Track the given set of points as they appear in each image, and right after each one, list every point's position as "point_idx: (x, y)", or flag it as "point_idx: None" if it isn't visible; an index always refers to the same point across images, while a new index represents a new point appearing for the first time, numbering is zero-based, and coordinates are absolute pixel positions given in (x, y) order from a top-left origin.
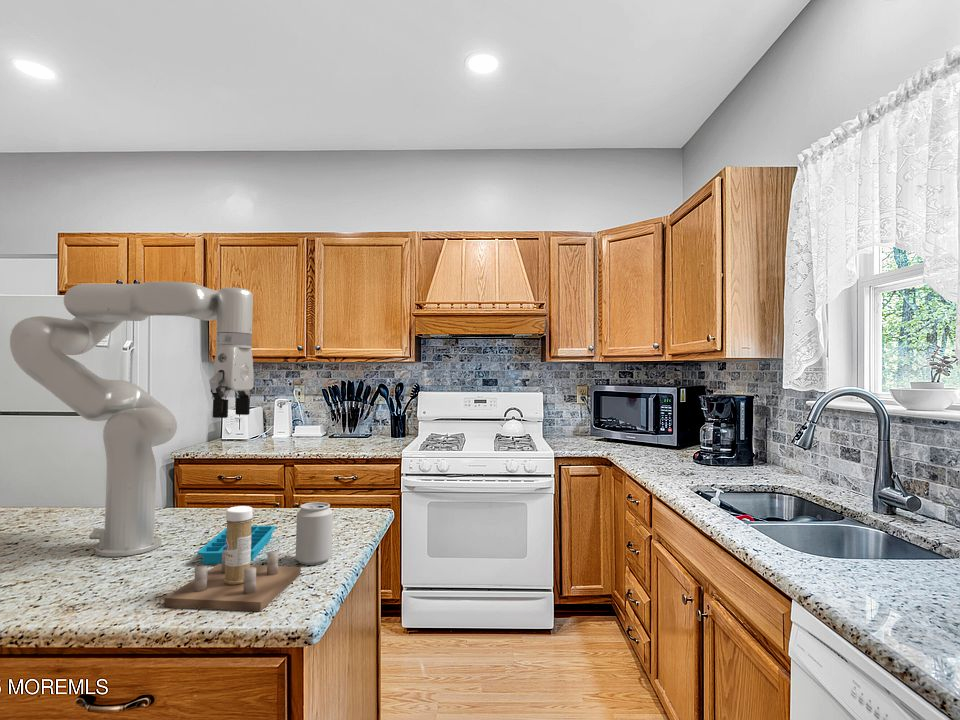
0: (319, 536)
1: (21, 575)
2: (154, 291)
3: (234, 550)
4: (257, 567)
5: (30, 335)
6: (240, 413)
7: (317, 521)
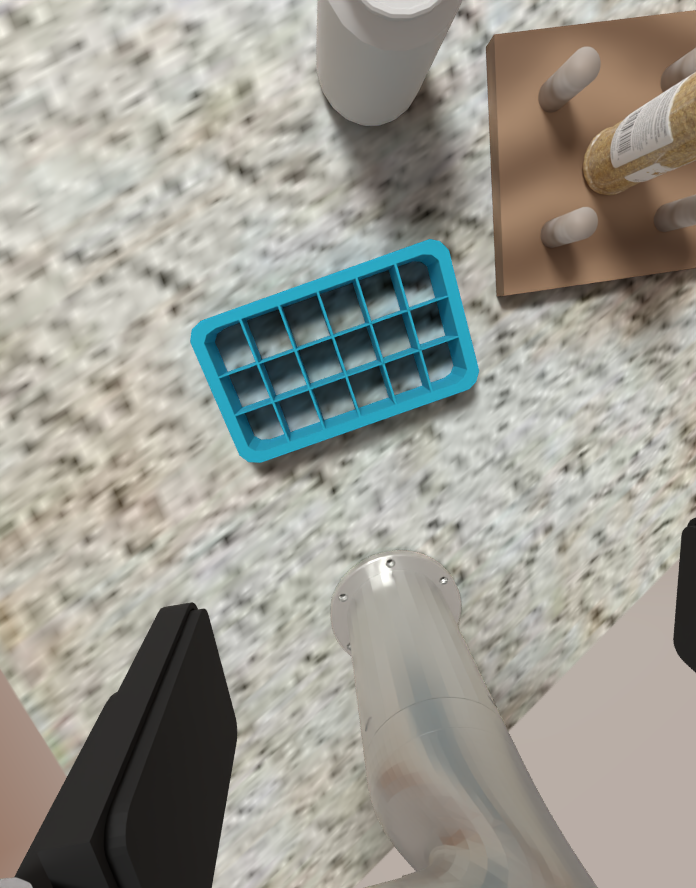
0: None
1: (568, 649)
2: None
3: None
4: (514, 170)
5: None
6: (223, 687)
7: None
